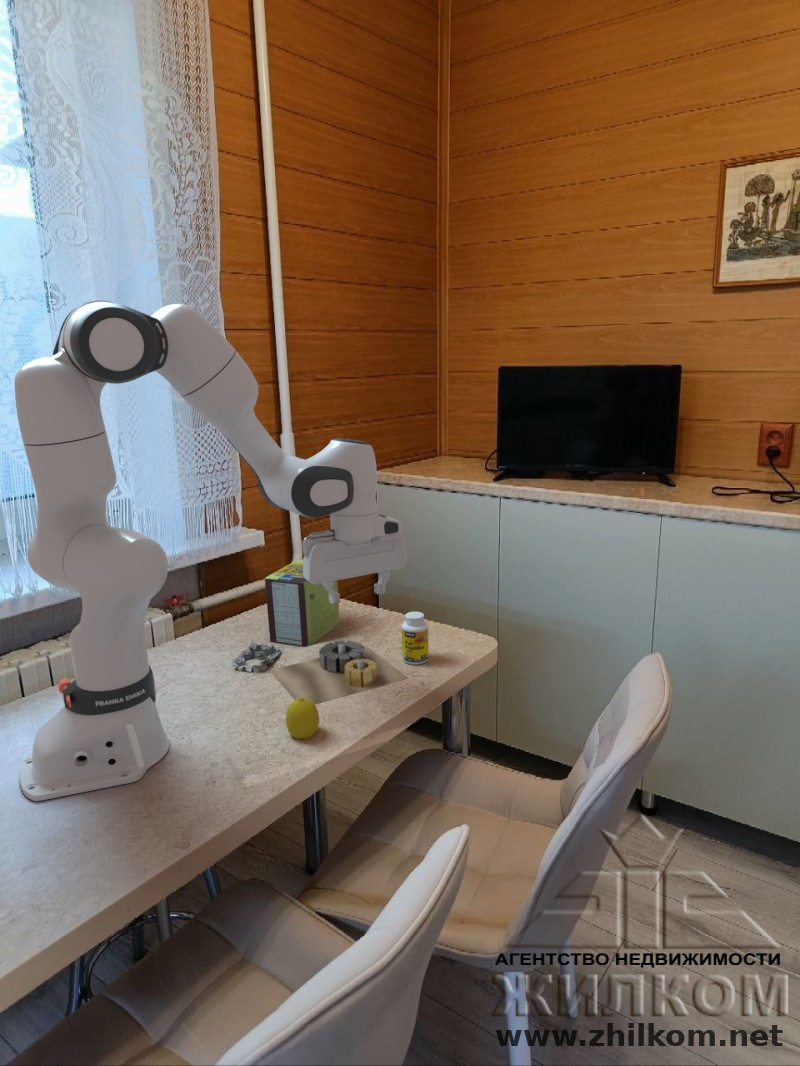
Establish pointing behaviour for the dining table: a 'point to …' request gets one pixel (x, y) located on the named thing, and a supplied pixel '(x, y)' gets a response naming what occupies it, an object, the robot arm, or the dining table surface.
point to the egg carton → (258, 653)
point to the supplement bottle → (415, 639)
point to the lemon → (302, 718)
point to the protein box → (298, 607)
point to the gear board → (330, 678)
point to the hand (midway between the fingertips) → (357, 597)
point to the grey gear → (340, 655)
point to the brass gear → (360, 673)
